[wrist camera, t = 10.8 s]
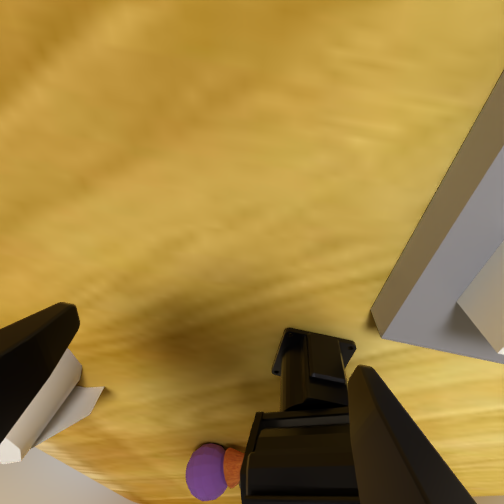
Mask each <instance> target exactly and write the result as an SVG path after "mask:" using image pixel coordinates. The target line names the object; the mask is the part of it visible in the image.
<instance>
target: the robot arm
mask: <svg viewBox="0 0 504 504" xmlns="http://www.w3.org/2000/svg"><path fill="white" fill-rule="evenodd" d="M79 326H80V320H79V316H78V312H77V308H76V306H75V305H74V304H71V303H66V302H59V303H57V304H55V305H52V306H50V307H48V308H46V309H44V310H41V311H39V312H37V313H35V314H33V315H30V316H28V317H26V318H24V319H22V320H19V321H17V322H15V323H13V324H11V325H8V326H6V327H4V328H2V329H0V444H1V443H2V441H3V440H4V439H5V437H6V436H7V435H8V433H9V432H10V430H11V429H12V428H13V426H14V425H15V424H16V422H17V421H18V420H19V418H20V417H21V415H22V414H23V413H24V411H25V410H26V409H27V407H28V406H29V405H30V403H31V402H32V400H33V399H34V398H35V396H36V395H37V394H38V392H39V391H40V390H41V388H42V387H43V385H44V384H45V383H46V381H47V380H48V378H49V377H50V376H51V374H52V373H53V371H54V369H55V368H56V366H57V364H58V363H59V361H60V359H61V358H62V356H63V354H64V353H65V351H66V349H67V348H68V346H69V344H70V343H71V341H72V339H73V338H74V336H75V334H76V333H77V331H78V329H79ZM289 333H291V334H289ZM355 350H356V345H355V342H353V341H350V340H345V339H340V338H336V337H331V336H326V335H321V334H317V333H312V332H307V331H302V330H298V329H293V328H287V329H285V331H284V334H283V337H282V340H281V343H280V346H279V349H278V352H277V354H276V357H275V360H274V363H273V366H272V374H274V375H278V376H281V384H280V412H269V413H264V412H256V415H255V419H254V422H253V425H252V428H251V432H250V436H249V439H248V443H247V447H246V450H245V454H244V458H243V462H242V465H241V469H240V480H239V486H240V488H241V500H242V504H477V503H476V502H475V501H474V499H473V498H472V496H471V495H470V494H469V493H468V491H467V490H466V489H465V487H464V486H463V485H462V483H461V482H460V481H459V479H458V478H457V477H456V476H455V474H454V473H453V472H452V470H451V469H450V468H449V466H448V465H447V464H446V462H445V461H444V460H443V459H442V457H441V456H440V455H439V453H438V452H437V451H436V449H435V448H434V447H433V445H432V444H431V443H430V442H429V440H428V439H427V438H426V436H425V435H424V434H423V432H422V431H421V430H420V428H419V427H418V426H417V425H416V423H415V422H414V421H413V419H412V418H411V417H410V415H409V414H408V413H407V411H406V410H405V409H404V408H403V406H402V405H401V404H400V402H399V401H398V400H397V398H396V397H395V396H394V394H393V393H392V392H391V390H390V389H389V388H388V387H387V385H386V384H385V383H384V381H383V380H382V379H381V377H380V376H379V375H378V373H377V372H376V371H375V370H374V369H373V368H372V367H370V366H365V365H358V366H357V367H356V369H355V370H354V372H353V374H352V375H351V377H350V379H349V381H348V383H347V378H346V373H345V367H346V366H347V364H348V362H349V360H350V359H351V357H352V355H353V354H354V352H355Z"/></svg>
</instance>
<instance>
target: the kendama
mask: <svg viewBox="0 0 504 504" xmlns="http://www.w3.org/2000/svg"><path fill="white" fill-rule="evenodd" d="M244 454H245V453H242V452H240V451H238V450H235V449H233V448H228V449H227V450H226V451H225V450H224V449H223V447H222V446H220V445H216V444H213V443H209V444H204V445H202V446H201V447H200V448H198V449H197V450H196V451H195V452H194V453H193V454H192V456H191V458H190V460H189V462H188V464H187V468H186V482H187V485H188V488H189V489H190V491H191V493H192V495H193V496H195V497H196V498H198V499H199V500H201V501H208V500H214V499H216V498H218V497H219V496H220V495H222V494H223V492H224V491H225V490H226V488H227V486H229V487H230V488H234V487H235V486H236V485H237V484H238V483H239V480H240V469H241V465H242V462H243V458H244Z"/></svg>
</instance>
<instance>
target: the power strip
mask: <svg viewBox="0 0 504 504" xmlns="http://www.w3.org/2000/svg"><path fill="white" fill-rule="evenodd" d="M371 312H372V315H373V318H374V320H375V323H376V326H377V328H378V331H379V334H380V336H381V338H382V339H387V340H392V341H397V342H401V343H406V344H411V345H416V346H420V347H425V348H430V349H435V350H439V351H444V352H449V353H454V354H458V355H463V356H468V357H473V358H477V359H482V360H487V361H492V362H496V363H501V364H504V71H503V73H502V75H501V76H500V78H499V80H498V82H497V84H496V85H495V87H494V89H493V91H492V93H491V94H490V96H489V98H488V100H487V102H486V103H485V105H484V107H483V109H482V111H481V112H480V114H479V116H478V118H477V120H476V121H475V123H474V125H473V127H472V129H471V130H470V132H469V134H468V136H467V137H466V139H465V141H464V143H463V145H462V146H461V148H460V150H459V152H458V154H457V155H456V157H455V159H454V161H453V163H452V164H451V166H450V168H449V170H448V172H447V173H446V175H445V177H444V179H443V181H442V182H441V184H440V186H439V188H438V190H437V191H436V193H435V195H434V197H433V199H432V200H431V202H430V204H429V206H428V207H427V209H426V211H425V213H424V215H423V216H422V218H421V220H420V222H419V224H418V225H417V227H416V229H415V231H414V233H413V234H412V236H411V238H410V240H409V242H408V243H407V245H406V247H405V249H404V251H403V252H402V254H401V256H400V258H399V260H398V261H397V263H396V265H395V267H394V269H393V270H392V272H391V274H390V276H389V278H388V279H387V281H386V283H385V285H384V286H383V288H382V290H381V292H380V294H379V295H378V297H377V299H376V301H375V303H374V304H373V306H372V308H371Z"/></svg>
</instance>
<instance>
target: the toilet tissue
mask: <svg viewBox="0 0 504 504" xmlns="http://www.w3.org/2000/svg"><path fill="white" fill-rule="evenodd" d="M81 371H82V365H81V364H80V363H79V361H78V360H77V359H76V358H75V356H74V355H73V354H72V353H71V351H70V350H69V349H68V348H67V349H66V351H65V353H64V354H63V356H62V358H61V359H60V361H59V363H58V364H57V366H56V368H55V369H54V371H53V373H52V374H51V376H50V377H49V378H48V380H47V381H46V383H45V384H44V385H43V387H42V388H41V390H40V391H39V392H38V394H37V395H36V396H35V398H34V399H33V400H32V402H31V403H30V405H29V406H28V407H27V409H26V410H25V411H24V413H23V414H22V415H21V417H20V418H19V420H18V421H17V422H16V424H15V425H14V426H13V428H12V429H11V430H10V432H9V433H8V435H7V436H6V437H5V439H4V440H3V441H2V443H1V444H0V463H1V464H8V463H12V462H18V461H21V460H22V459H23V458H24V456H25V455H26V454H27V452H28V451H29V449H31V448H33V447H35V446H36V445H38V444H40V443H42V442H43V441H45V440H47V439H48V438H50V437H52V436H54V435H55V434H57V433H59V432H61V431H62V430H64V429H66V428H67V427H69V426H71V425H73V424H74V423H76V422H78V421H80V420H81V419H83V418H85V417H86V416H88V415H90V413H91V411H92V409H93V408H94V406H95V404H96V402H97V400H98V398H99V396H100V394H101V392H102V390H103V388H104V387H90V388H85V387H80V386H75V385H76V384H77V383H78V381H79V380H80V377H81Z"/></svg>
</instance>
